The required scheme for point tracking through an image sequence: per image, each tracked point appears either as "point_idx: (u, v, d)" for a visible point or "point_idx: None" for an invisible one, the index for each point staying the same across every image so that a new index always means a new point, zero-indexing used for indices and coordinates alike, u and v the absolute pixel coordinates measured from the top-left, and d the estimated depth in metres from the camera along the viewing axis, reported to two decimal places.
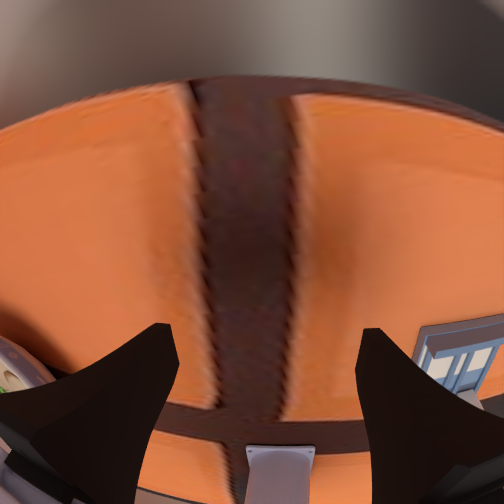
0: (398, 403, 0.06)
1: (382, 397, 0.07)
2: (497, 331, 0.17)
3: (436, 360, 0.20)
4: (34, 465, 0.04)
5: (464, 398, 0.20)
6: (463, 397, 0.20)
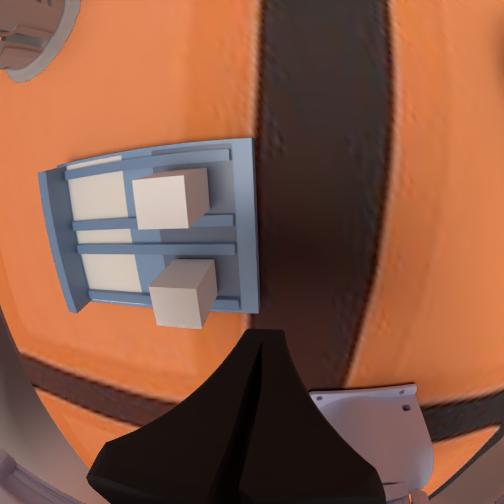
0: None
1: None
2: None
3: (108, 278, 0.18)
4: None
5: None
6: None
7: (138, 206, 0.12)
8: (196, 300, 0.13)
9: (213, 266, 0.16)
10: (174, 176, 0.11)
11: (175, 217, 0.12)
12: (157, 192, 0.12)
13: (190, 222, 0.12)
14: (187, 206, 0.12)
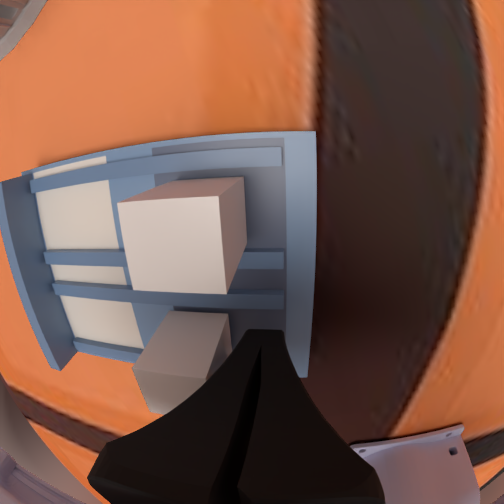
0: None
1: None
2: None
3: (98, 328, 0.13)
4: None
5: None
6: None
7: (130, 251, 0.06)
8: None
9: (227, 324, 0.11)
10: (199, 197, 0.06)
11: (201, 275, 0.06)
12: (165, 226, 0.06)
13: (228, 281, 0.07)
14: (224, 253, 0.06)
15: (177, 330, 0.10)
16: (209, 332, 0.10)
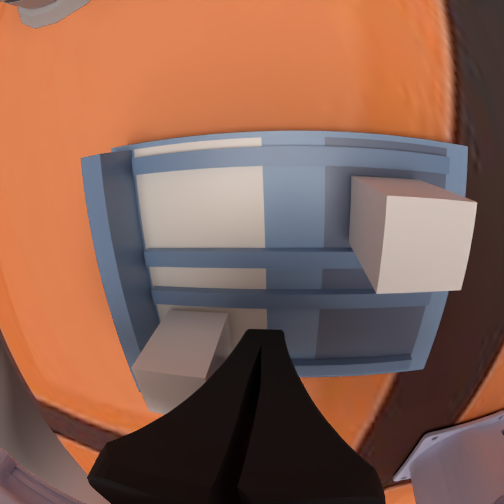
0: None
1: None
2: None
3: None
4: None
5: (355, 235, 0.08)
6: (354, 235, 0.08)
7: (390, 250, 0.06)
8: None
9: (227, 323, 0.11)
10: (461, 201, 0.05)
11: (448, 273, 0.06)
12: (432, 226, 0.05)
13: (457, 278, 0.06)
14: (465, 253, 0.06)
15: (177, 329, 0.10)
16: (209, 331, 0.10)
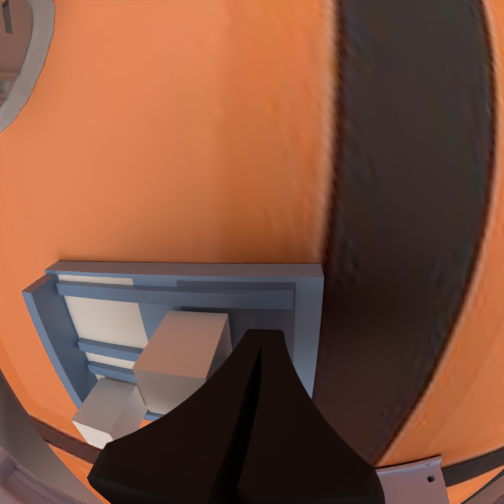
0: None
1: None
2: None
3: None
4: None
5: None
6: None
7: (146, 394, 0.08)
8: (112, 440, 0.10)
9: (135, 392, 0.13)
10: (192, 376, 0.08)
11: None
12: (169, 387, 0.08)
13: None
14: None
15: (101, 395, 0.12)
16: (120, 399, 0.12)
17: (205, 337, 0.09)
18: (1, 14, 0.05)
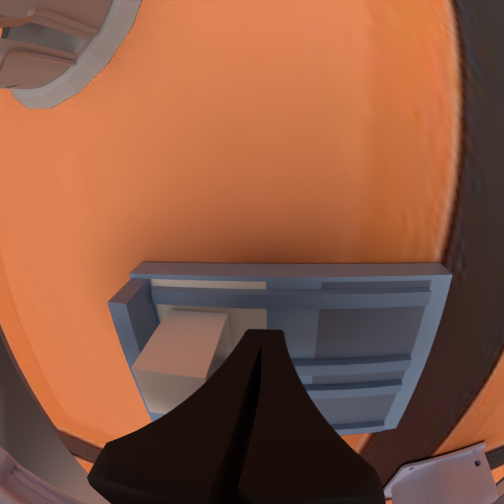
0: None
1: None
2: None
3: None
4: None
5: None
6: None
7: (145, 393, 0.08)
8: None
9: None
10: (191, 375, 0.08)
11: None
12: (169, 387, 0.08)
13: None
14: None
15: None
16: None
17: (205, 337, 0.09)
18: None
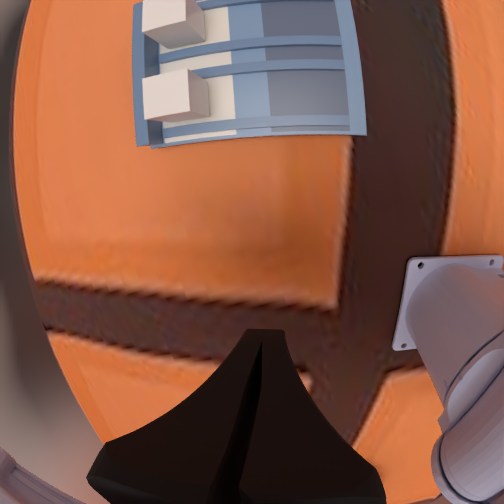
0: None
1: None
2: None
3: None
4: None
5: None
6: None
7: (145, 15, 0.10)
8: (186, 79, 0.12)
9: (206, 85, 0.14)
10: None
11: (175, 15, 0.10)
12: (162, 3, 0.10)
13: (187, 19, 0.11)
14: (186, 7, 0.10)
15: None
16: None
17: None
18: None
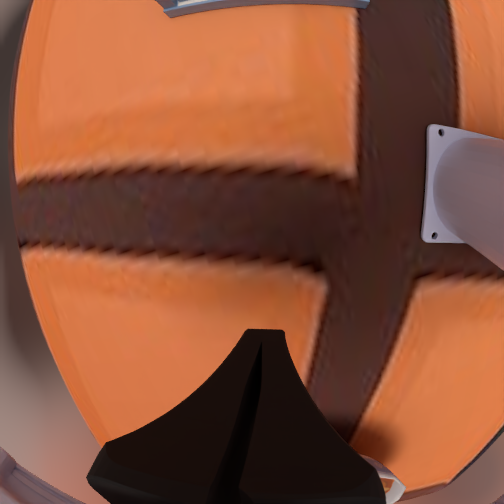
0: None
1: None
2: None
3: None
4: None
5: None
6: None
7: None
8: None
9: None
10: None
11: None
12: None
13: None
14: None
15: None
16: None
17: None
18: None
